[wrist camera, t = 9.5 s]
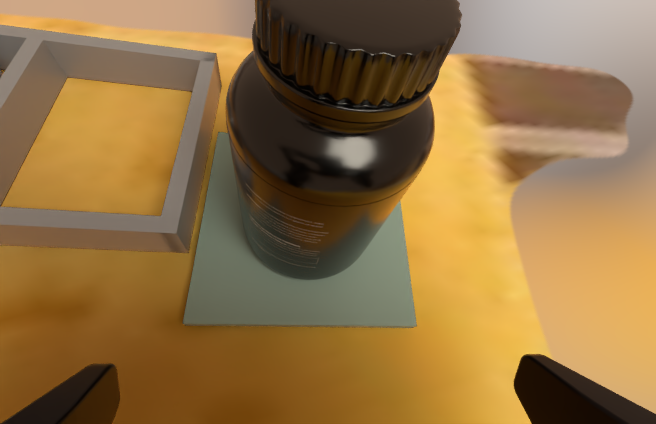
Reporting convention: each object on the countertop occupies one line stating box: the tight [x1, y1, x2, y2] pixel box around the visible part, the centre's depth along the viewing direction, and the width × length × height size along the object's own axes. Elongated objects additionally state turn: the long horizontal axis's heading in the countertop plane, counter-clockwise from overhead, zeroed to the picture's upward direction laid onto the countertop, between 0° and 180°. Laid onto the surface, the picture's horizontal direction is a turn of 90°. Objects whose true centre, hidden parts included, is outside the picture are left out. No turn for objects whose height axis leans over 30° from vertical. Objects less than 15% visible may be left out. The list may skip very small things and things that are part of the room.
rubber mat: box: [183, 132, 417, 328], centre depth 18 cm, size 11×11×1 cm
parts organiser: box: [0, 25, 221, 253], centre depth 17 cm, size 12×17×2 cm
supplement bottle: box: [226, 0, 462, 280], centre depth 12 cm, size 7×7×12 cm
